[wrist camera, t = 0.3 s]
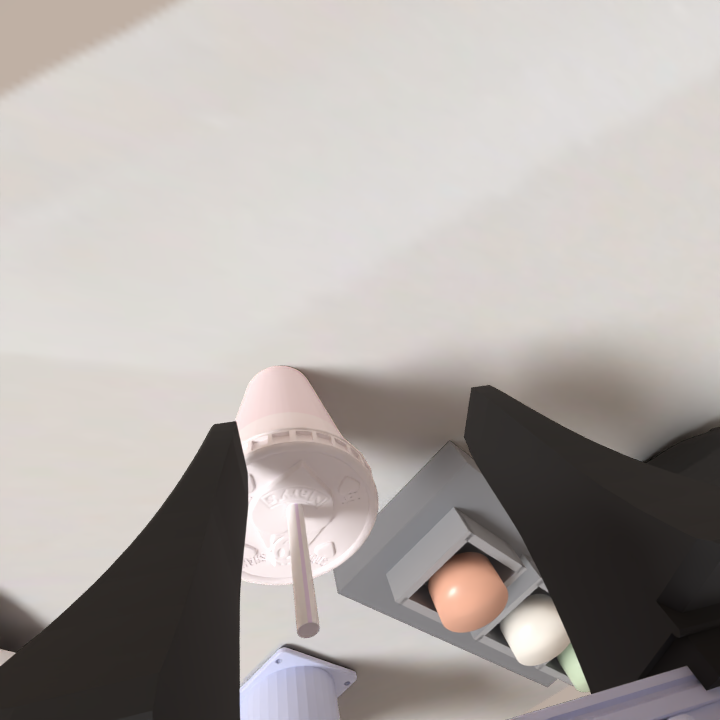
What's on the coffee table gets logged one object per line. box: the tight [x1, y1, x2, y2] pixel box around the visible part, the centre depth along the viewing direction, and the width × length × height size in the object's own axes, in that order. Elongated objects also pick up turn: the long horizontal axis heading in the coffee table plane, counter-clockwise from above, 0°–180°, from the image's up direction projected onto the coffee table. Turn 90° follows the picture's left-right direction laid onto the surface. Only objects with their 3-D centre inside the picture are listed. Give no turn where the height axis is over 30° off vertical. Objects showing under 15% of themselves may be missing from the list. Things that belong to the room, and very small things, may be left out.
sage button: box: [557, 643, 590, 692], centre depth 32 cm, size 4×4×2 cm
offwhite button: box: [500, 594, 570, 666], centre depth 28 cm, size 4×4×2 cm
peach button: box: [428, 552, 508, 633], centre depth 25 cm, size 4×4×2 cm
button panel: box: [333, 441, 575, 687], centre depth 31 cm, size 12×26×4 cm, turn 47°
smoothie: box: [235, 366, 378, 638], centre depth 16 cm, size 6×6×14 cm
